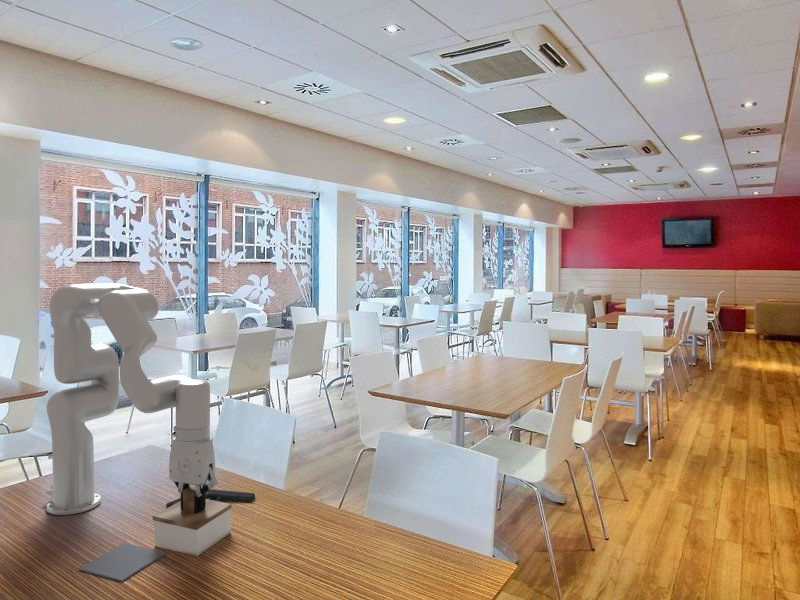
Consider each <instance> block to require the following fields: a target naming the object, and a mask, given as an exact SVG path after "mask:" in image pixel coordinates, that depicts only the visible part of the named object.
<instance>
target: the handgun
mask: <svg viewBox="0 0 800 600" xmlns="http://www.w3.org/2000/svg"><path fill="white" fill-rule="evenodd" d="M206 499H209V500H214V501H219V502H232V503H233V502H234V503H235V502H236V503H238V502H241V503H252V501H254V500H255V499H256V494H255V493H254V492H246V491H235V490H223V489H222V490H221V489H212V488H211V489H210V490H209V491H208V492H207V493H206ZM180 501H181V497H178V498H177V499H174V500H171V501H168V502H167V503H166V504H165V509H167V508H168V507H170V506H172V505H174V504H176V503H178V502H180Z"/></svg>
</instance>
